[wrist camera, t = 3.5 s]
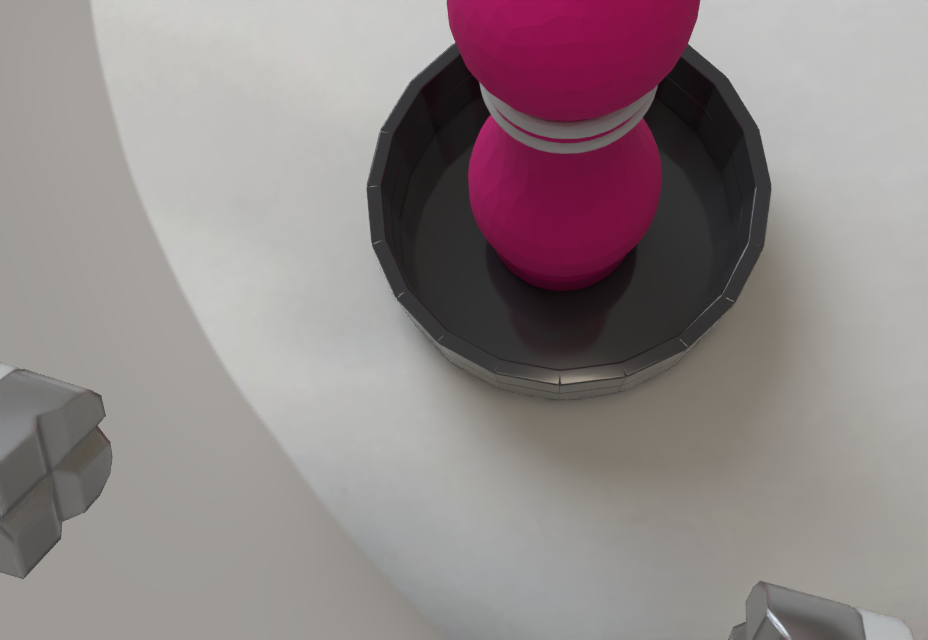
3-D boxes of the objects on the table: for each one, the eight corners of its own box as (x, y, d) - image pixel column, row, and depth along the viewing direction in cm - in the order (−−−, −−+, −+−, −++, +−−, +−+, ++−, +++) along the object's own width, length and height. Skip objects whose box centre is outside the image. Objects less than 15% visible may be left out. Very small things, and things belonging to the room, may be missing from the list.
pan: (715, 431, 32) (741, 420, 28) (355, 363, 35) (327, 342, 30) (762, 92, 35) (792, 33, 31) (429, 49, 38) (413, -11, 33)
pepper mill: (679, 253, 34) (856, -93, 14) (528, 333, 34) (497, 95, 14) (593, 116, 35) (647, -355, 16) (449, 192, 35) (327, -189, 16)
